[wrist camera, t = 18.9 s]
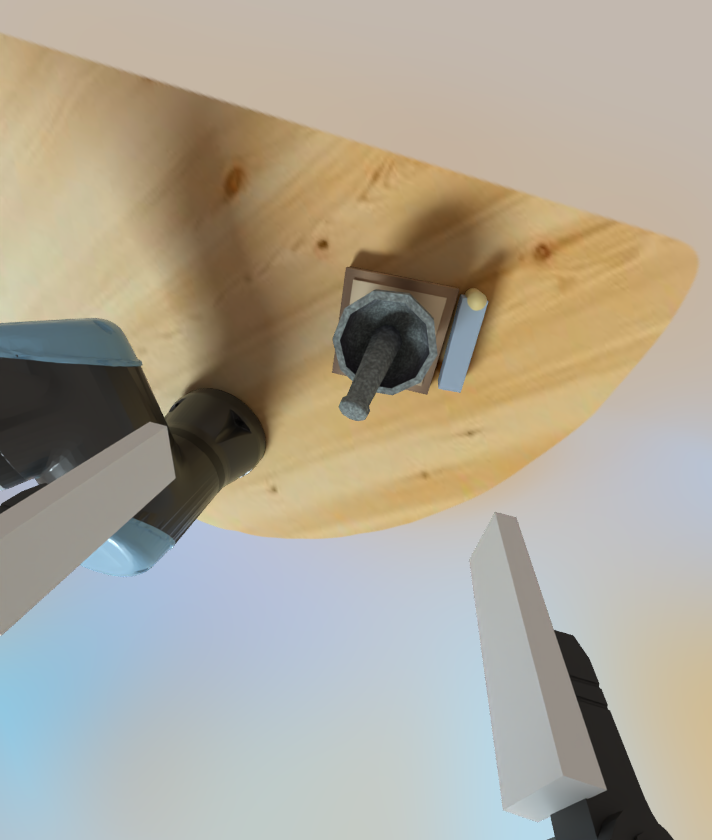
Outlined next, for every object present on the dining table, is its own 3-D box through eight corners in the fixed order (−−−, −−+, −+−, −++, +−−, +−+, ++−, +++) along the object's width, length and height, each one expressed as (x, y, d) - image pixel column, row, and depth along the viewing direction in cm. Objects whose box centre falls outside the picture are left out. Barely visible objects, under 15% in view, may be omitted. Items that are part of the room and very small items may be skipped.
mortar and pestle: (371, 266, 32) (345, 274, 22) (452, 306, 33) (464, 333, 22) (333, 360, 38) (298, 402, 28) (402, 394, 38) (393, 448, 28)
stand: (336, 367, 41) (331, 373, 39) (350, 266, 35) (345, 267, 33) (427, 388, 40) (427, 395, 38) (457, 287, 34) (459, 290, 32)
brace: (462, 286, 33) (467, 290, 30) (486, 289, 33) (494, 294, 29) (437, 380, 39) (439, 394, 35) (458, 383, 38) (461, 398, 35)
